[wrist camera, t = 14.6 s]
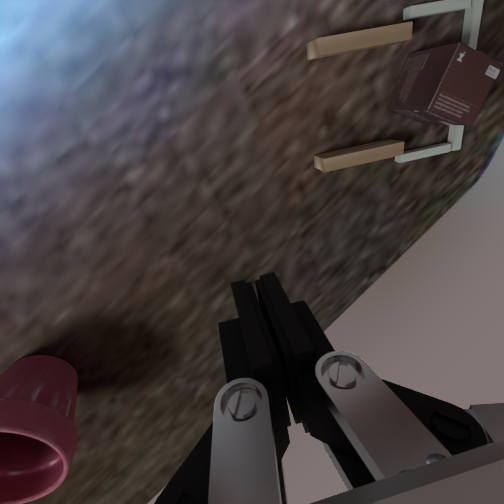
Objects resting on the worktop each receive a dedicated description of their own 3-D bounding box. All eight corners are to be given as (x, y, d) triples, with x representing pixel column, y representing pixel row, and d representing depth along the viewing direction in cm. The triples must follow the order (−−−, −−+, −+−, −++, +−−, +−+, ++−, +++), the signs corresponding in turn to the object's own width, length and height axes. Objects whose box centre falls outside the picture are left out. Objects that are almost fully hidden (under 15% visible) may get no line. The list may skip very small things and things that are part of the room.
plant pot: (108, 400, 48) (84, 492, 37) (10, 419, 46) (-47, 522, 34) (81, 331, 41) (43, 417, 30) (-34, 349, 39) (-122, 448, 28)
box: (383, 108, 36) (426, 109, 30) (407, 51, 34) (460, 39, 27) (422, 123, 38) (470, 128, 31) (447, 71, 36) (505, 64, 29)
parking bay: (403, 9, 32) (411, 6, 31) (475, -4, 33) (484, -7, 32) (394, 161, 39) (400, 162, 38) (453, 148, 40) (460, 149, 39)
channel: (306, 43, 31) (317, 38, 29) (394, 27, 32) (412, 21, 30) (314, 167, 38) (324, 172, 35) (388, 151, 39) (403, 154, 36)
